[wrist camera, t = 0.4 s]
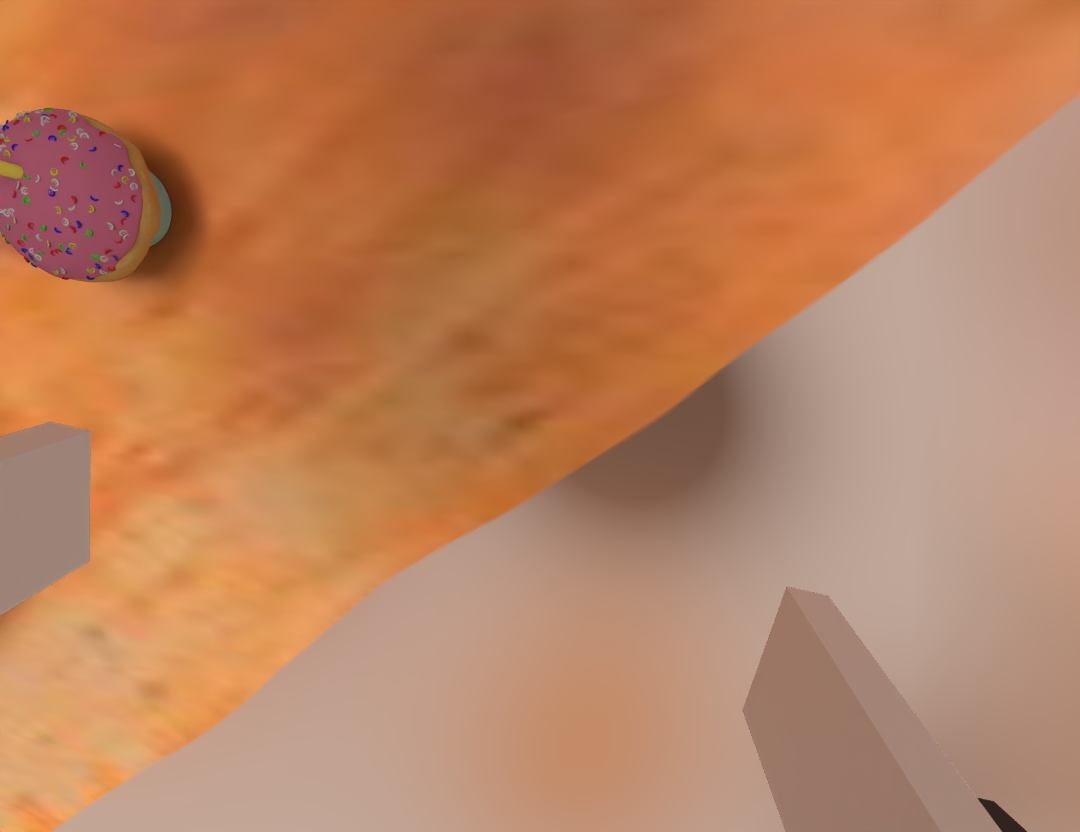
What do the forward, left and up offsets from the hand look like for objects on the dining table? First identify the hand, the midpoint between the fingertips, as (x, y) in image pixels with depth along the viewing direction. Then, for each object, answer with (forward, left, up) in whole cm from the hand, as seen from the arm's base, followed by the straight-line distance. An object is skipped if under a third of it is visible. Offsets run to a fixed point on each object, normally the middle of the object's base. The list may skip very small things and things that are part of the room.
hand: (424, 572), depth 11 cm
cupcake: (-3, -25, -26) cm, 36 cm away
